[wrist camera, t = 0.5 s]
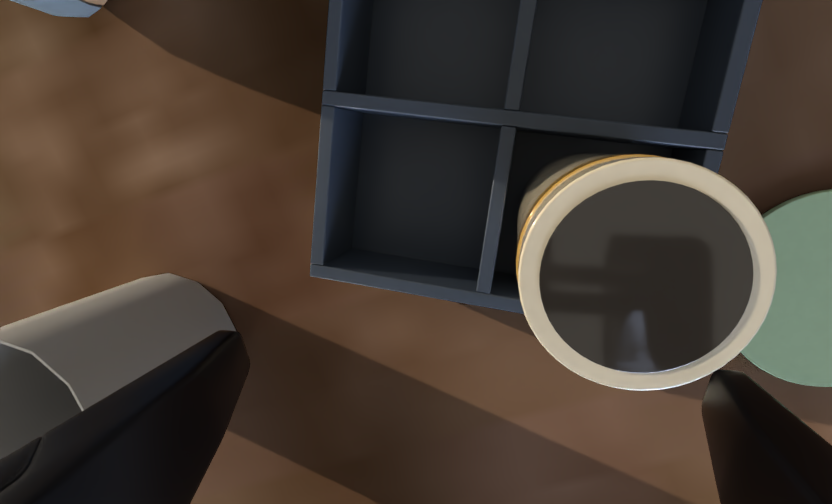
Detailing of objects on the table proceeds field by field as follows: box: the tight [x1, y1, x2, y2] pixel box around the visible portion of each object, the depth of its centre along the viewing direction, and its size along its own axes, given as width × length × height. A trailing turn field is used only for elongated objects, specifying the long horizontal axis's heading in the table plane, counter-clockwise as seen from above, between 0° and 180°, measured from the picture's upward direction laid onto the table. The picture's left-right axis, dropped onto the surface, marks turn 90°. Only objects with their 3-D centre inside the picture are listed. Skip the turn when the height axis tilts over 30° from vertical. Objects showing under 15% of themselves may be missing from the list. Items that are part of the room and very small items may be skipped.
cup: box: [0, 273, 236, 459], centre depth 24 cm, size 8×8×10 cm
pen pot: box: [516, 152, 777, 391], centre depth 17 cm, size 6×6×12 cm
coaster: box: [741, 189, 832, 387], centre depth 22 cm, size 9×9×1 cm
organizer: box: [310, 0, 763, 314], centre depth 21 cm, size 15×15×4 cm
